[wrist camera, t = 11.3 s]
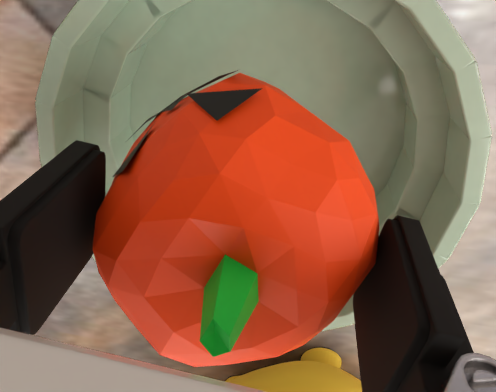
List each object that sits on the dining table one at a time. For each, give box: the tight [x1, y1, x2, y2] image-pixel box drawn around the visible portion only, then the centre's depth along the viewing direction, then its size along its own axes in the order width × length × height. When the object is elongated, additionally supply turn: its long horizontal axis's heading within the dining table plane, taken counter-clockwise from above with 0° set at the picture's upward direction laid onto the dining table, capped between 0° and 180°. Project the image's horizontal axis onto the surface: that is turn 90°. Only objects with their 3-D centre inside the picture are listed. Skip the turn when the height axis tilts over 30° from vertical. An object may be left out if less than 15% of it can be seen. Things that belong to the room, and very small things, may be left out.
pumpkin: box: [93, 70, 379, 367], centre depth 11 cm, size 7×8×6 cm
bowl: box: [35, 0, 492, 332], centre depth 16 cm, size 14×14×5 cm
